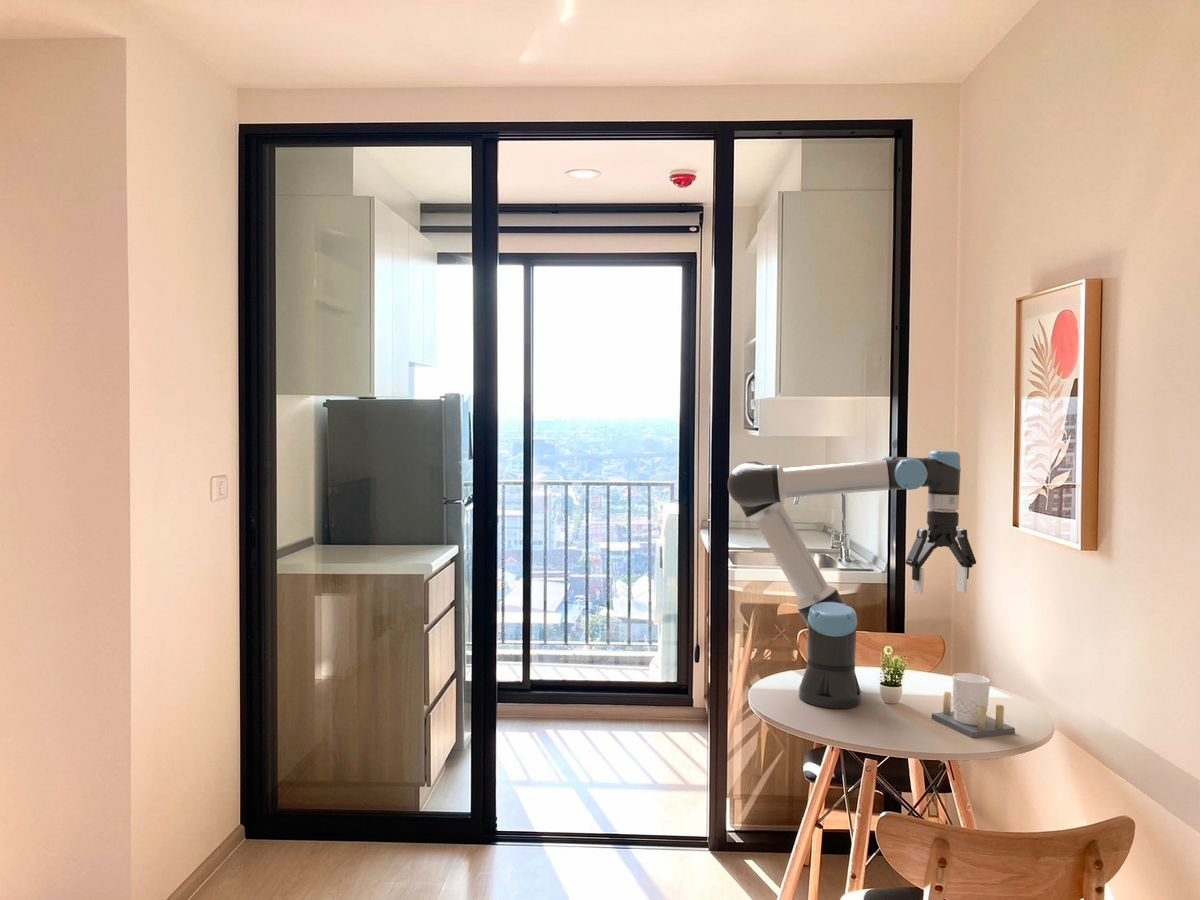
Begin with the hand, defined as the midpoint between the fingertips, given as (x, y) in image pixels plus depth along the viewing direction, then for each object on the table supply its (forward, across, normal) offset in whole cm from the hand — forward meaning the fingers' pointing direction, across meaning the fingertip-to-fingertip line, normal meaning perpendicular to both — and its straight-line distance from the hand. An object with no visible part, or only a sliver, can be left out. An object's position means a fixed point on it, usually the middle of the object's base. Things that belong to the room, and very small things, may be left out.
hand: (940, 592), depth 215 cm
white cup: (+26, -9, -22) cm, 35 cm away
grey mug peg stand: (+27, -8, -22) cm, 35 cm away
